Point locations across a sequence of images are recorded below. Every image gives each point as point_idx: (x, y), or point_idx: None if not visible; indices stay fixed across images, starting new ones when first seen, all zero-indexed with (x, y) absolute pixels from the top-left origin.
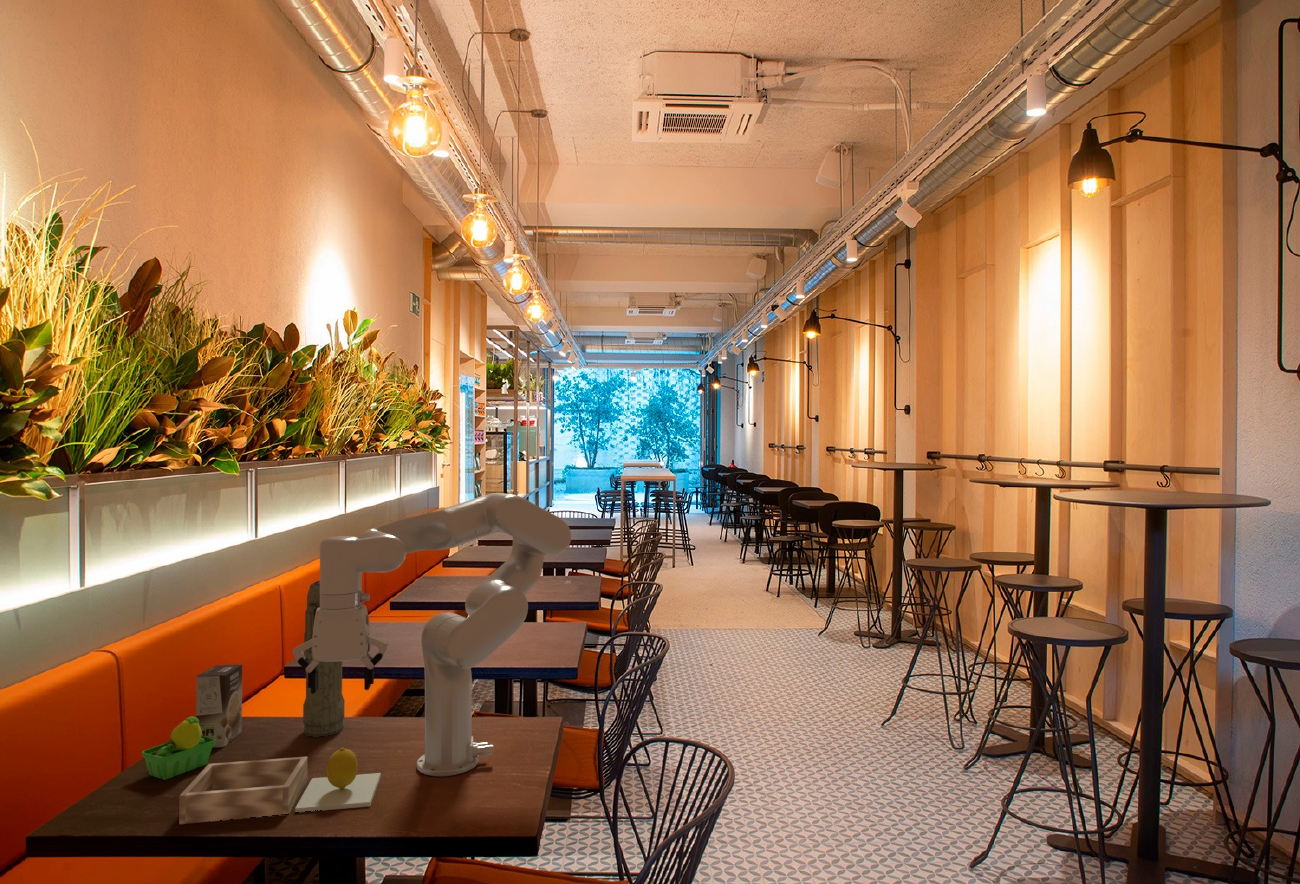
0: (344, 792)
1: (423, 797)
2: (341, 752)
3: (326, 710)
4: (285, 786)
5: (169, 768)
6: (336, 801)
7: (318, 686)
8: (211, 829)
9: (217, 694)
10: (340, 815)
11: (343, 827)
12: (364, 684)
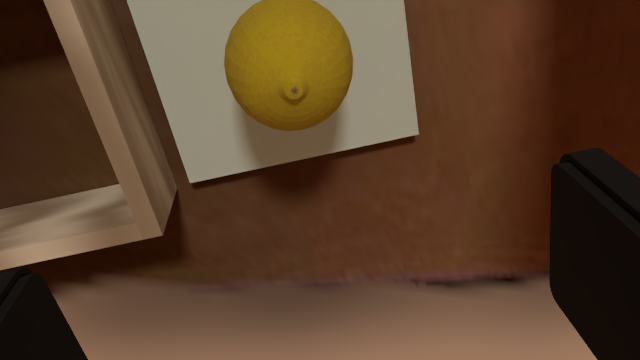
0: None
1: (577, 61)
2: (298, 110)
3: None
4: (148, 232)
5: None
6: (305, 134)
7: (30, 283)
8: None
9: None
10: (342, 185)
11: (376, 245)
12: (578, 332)
